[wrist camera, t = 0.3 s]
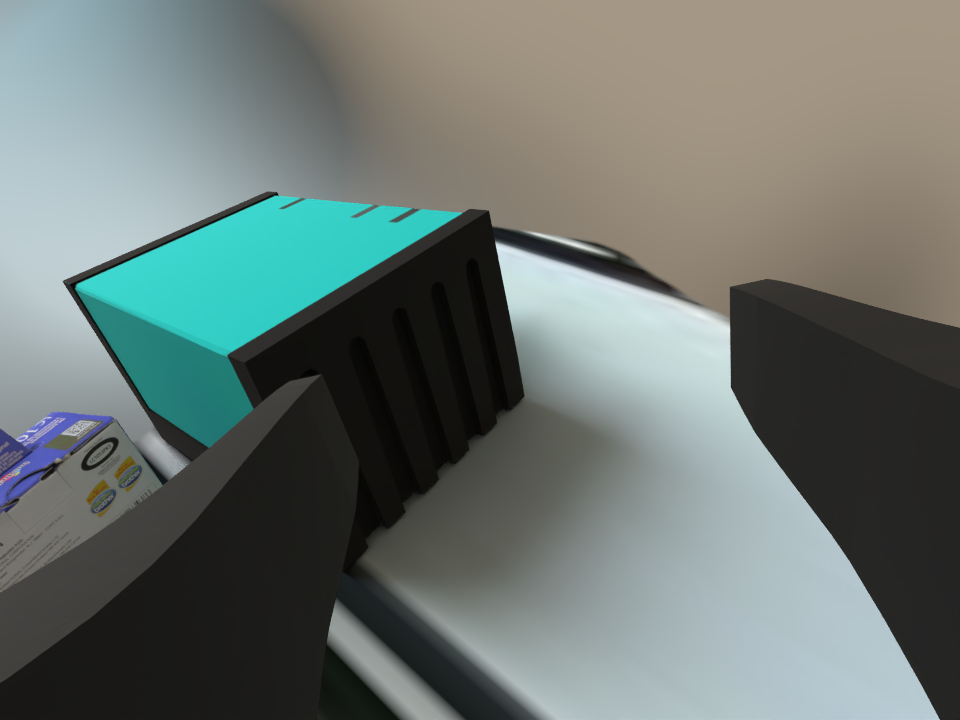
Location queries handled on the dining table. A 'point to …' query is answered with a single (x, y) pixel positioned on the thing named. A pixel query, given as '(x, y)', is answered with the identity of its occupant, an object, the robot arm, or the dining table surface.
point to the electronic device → (318, 331)
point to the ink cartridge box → (64, 488)
